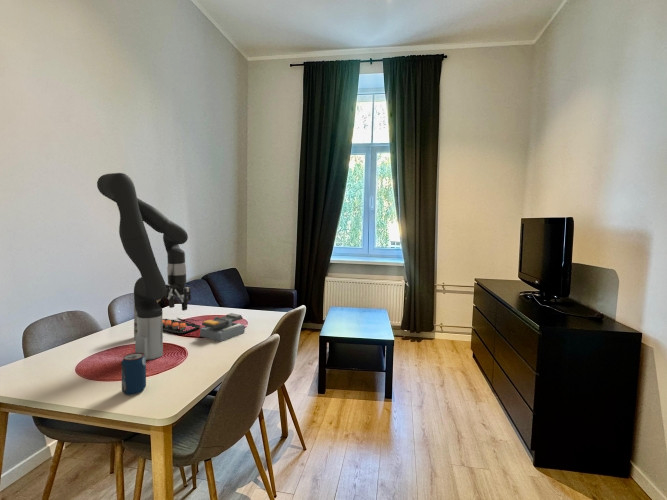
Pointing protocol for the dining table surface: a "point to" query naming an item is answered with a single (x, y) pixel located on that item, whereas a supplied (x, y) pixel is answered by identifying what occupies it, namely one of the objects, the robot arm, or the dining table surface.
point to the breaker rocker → (222, 320)
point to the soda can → (133, 373)
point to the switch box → (219, 334)
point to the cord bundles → (230, 327)
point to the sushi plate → (173, 325)
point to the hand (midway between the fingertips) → (178, 308)
